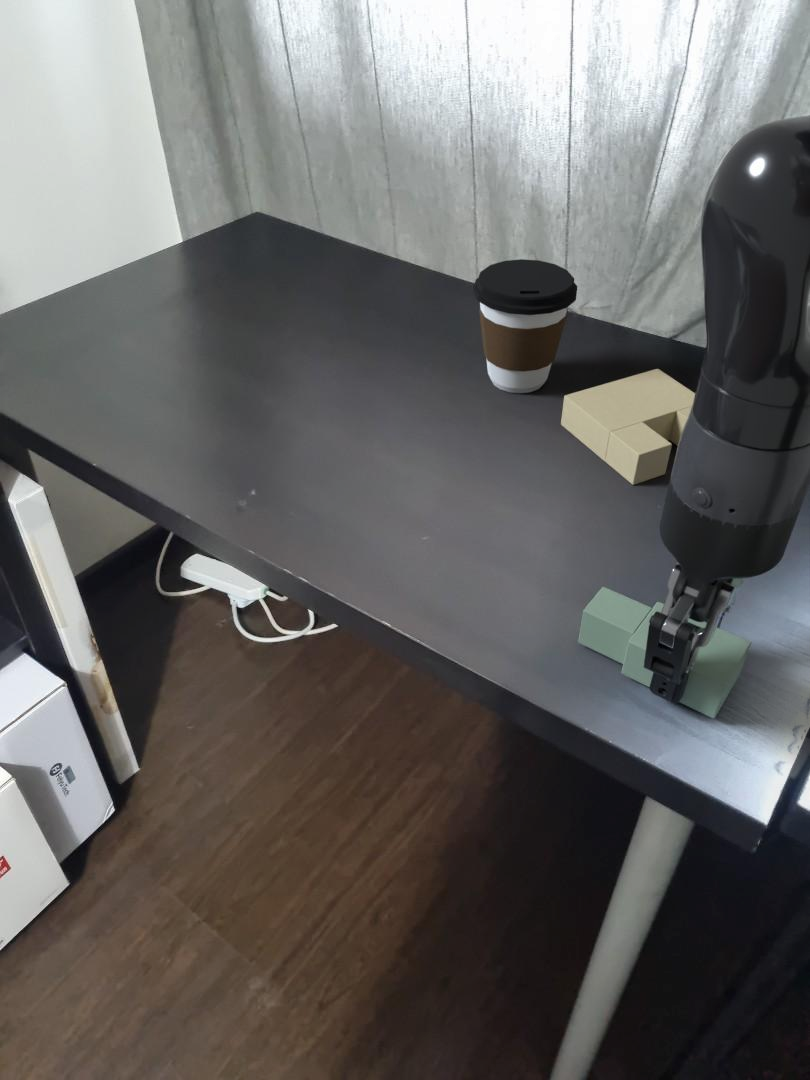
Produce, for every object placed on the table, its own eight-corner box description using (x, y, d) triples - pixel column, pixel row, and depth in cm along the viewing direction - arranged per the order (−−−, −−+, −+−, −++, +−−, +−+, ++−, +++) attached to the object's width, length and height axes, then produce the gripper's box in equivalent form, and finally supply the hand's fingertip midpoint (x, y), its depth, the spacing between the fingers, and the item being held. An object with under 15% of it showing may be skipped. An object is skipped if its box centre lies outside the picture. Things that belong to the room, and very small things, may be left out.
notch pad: (729, 452, 82) (738, 422, 80) (632, 485, 78) (639, 455, 76) (651, 396, 90) (657, 368, 88) (560, 424, 87) (564, 395, 84)
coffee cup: (572, 404, 89) (587, 299, 82) (472, 405, 90) (476, 300, 82) (559, 356, 98) (571, 256, 90) (467, 356, 98) (470, 257, 90)
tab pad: (739, 674, 60) (751, 641, 58) (714, 719, 57) (725, 686, 55) (602, 611, 65) (608, 579, 63) (571, 649, 62) (577, 617, 60)
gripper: (758, 573, 43) (692, 764, 54) (837, 446, 52) (766, 634, 63) (625, 520, 46) (588, 710, 57) (720, 410, 55) (671, 594, 66)
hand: (681, 669), depth 60 cm, fingers closed on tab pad, 5 cm apart
